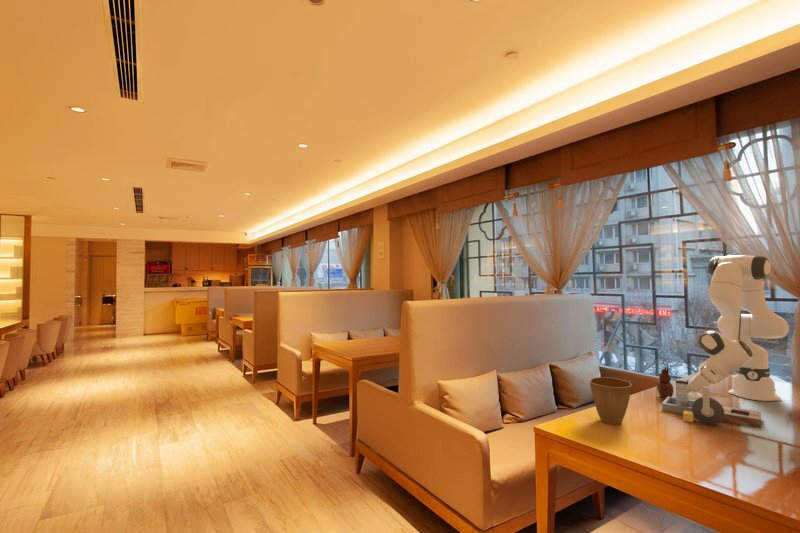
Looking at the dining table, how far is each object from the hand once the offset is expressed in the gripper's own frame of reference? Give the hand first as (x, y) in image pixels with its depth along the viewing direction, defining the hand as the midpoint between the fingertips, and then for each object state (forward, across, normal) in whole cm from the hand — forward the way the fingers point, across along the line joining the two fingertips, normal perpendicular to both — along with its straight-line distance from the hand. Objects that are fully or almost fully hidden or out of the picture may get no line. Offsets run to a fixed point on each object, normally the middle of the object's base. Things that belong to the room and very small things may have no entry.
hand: (684, 390), depth 175 cm
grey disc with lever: (0, +15, +11) cm, 18 cm away
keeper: (-7, 0, +19) cm, 20 cm away
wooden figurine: (+13, -16, -1) cm, 20 cm away
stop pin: (+6, 0, +5) cm, 8 cm away
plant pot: (+20, +35, -8) cm, 41 cm away
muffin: (+5, -14, +7) cm, 16 cm away
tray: (+6, 0, +5) cm, 8 cm away
